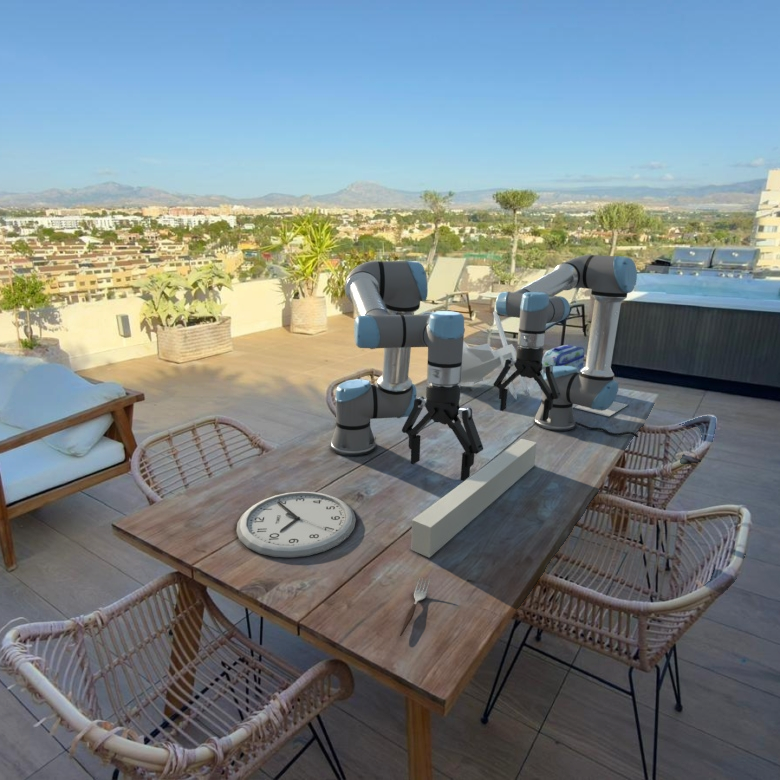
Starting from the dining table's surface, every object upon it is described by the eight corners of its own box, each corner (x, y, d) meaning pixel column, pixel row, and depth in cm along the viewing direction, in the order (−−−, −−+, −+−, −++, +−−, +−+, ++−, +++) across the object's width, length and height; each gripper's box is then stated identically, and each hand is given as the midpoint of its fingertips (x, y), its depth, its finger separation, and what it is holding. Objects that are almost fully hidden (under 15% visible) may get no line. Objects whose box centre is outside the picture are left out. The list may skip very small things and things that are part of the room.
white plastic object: (461, 429, 252) (437, 405, 227) (444, 352, 274) (420, 323, 250) (535, 404, 240) (518, 377, 215) (510, 326, 262) (492, 293, 237)
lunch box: (556, 397, 237) (562, 352, 231) (535, 392, 244) (540, 348, 238) (583, 386, 255) (589, 344, 248) (562, 381, 262) (567, 340, 256)
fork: (393, 636, 97) (393, 627, 97) (418, 584, 112) (419, 576, 111) (406, 640, 96) (407, 631, 96) (430, 587, 111) (430, 579, 110)
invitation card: (608, 416, 214) (573, 407, 224) (608, 416, 214) (573, 408, 224) (628, 404, 229) (594, 396, 238) (628, 405, 229) (594, 397, 238)
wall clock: (357, 549, 121) (224, 553, 118) (357, 555, 121) (224, 559, 118) (354, 487, 149) (247, 489, 147) (354, 492, 150) (247, 495, 147)
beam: (519, 461, 172) (521, 438, 169) (534, 465, 169) (537, 442, 166) (410, 549, 124) (411, 519, 121) (429, 558, 121) (430, 527, 118)
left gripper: (388, 376, 120) (386, 460, 126) (487, 398, 105) (479, 492, 112) (407, 369, 125) (404, 450, 132) (503, 389, 111) (495, 479, 117)
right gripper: (485, 342, 157) (481, 408, 163) (568, 355, 143) (559, 427, 149) (497, 338, 163) (491, 402, 169) (577, 350, 149) (568, 420, 155)
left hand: (439, 470), depth 122 cm, fingers open, 13 cm apart
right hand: (523, 414), depth 159 cm, fingers open, 13 cm apart
